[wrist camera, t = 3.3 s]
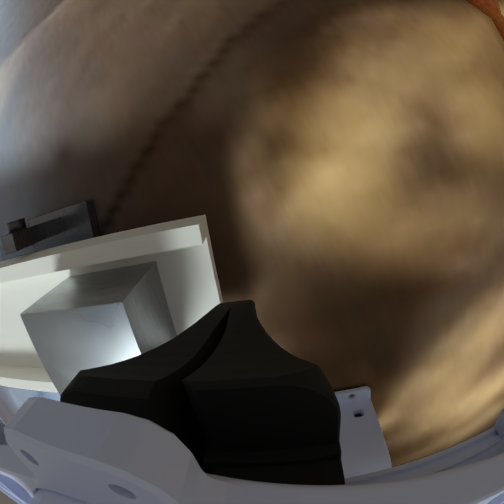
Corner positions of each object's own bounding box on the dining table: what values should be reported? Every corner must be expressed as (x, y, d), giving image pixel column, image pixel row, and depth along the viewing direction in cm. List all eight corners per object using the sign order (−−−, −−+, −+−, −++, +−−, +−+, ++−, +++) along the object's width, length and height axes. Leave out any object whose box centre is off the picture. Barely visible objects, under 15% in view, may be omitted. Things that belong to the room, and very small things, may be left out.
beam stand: (92, 198, 16) (34, 213, 11) (141, 362, 20) (112, 412, 14) (34, 216, 17) (-19, 234, 12) (83, 360, 20) (49, 399, 15)
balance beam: (205, 214, 14) (198, 224, 11) (235, 356, 16) (236, 387, 13) (-48, 276, 13) (-68, 287, 11) (-12, 363, 15) (-28, 379, 13)
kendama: (563, 162, 10) (385, -94, 5) (518, 146, 15) (368, -56, 10) (590, 126, 7) (435, -104, 2) (548, 116, 12) (412, -73, 8)
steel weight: (156, 261, 13) (122, 302, 8) (182, 352, 14) (167, 414, 10) (69, 276, 13) (19, 314, 8) (100, 358, 14) (69, 410, 10)
